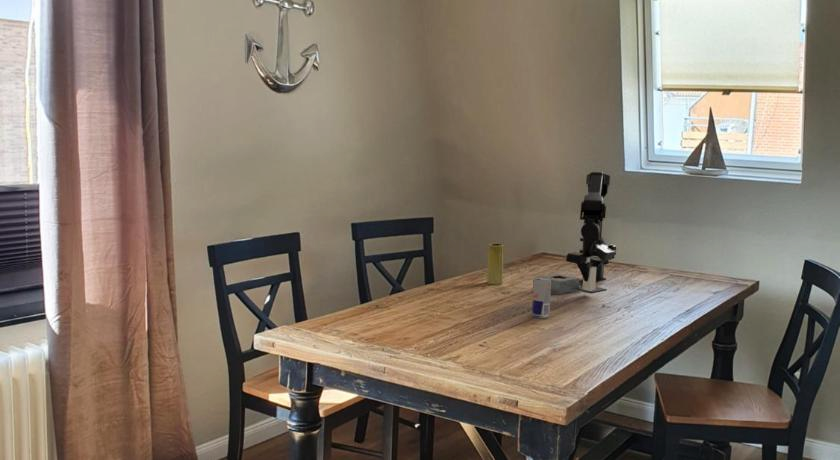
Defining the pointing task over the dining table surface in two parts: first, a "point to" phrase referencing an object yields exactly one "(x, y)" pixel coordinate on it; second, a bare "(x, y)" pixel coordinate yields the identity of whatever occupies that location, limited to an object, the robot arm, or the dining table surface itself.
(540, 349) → the dining table surface
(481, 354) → the dining table surface
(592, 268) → the cream rectangular prism
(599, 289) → the mat
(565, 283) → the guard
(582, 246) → the robot arm
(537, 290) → the energy drink
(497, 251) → the vase
